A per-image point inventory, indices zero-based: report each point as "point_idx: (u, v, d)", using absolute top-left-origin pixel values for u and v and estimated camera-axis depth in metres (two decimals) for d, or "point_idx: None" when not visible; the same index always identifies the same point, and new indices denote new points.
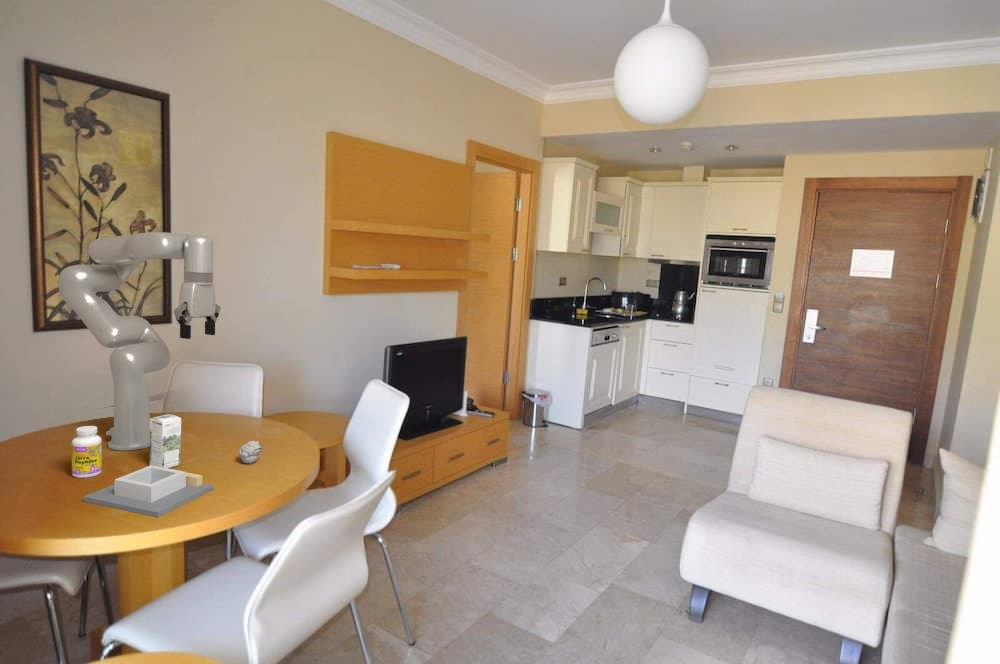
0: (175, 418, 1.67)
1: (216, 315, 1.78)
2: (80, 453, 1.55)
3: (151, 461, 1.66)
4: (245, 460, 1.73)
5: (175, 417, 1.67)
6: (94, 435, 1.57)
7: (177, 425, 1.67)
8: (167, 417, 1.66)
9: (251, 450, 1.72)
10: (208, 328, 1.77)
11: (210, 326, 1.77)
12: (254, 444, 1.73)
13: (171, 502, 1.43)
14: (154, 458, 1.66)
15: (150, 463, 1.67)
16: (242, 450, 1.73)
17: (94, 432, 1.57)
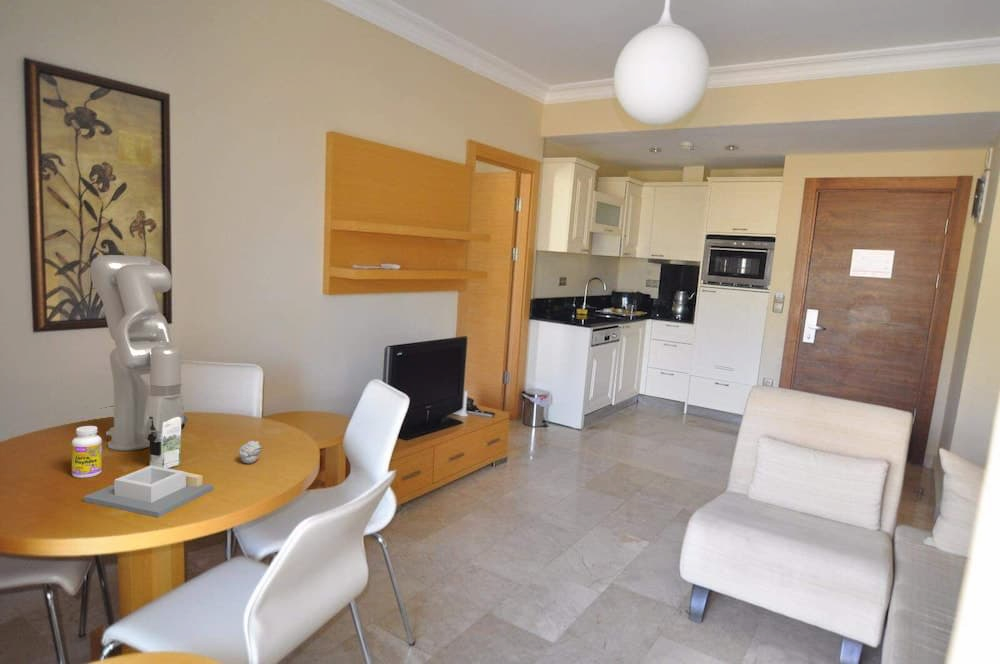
0: (175, 418, 1.67)
1: (181, 426, 1.72)
2: (80, 453, 1.55)
3: (151, 461, 1.66)
4: (245, 460, 1.73)
5: None
6: (94, 435, 1.57)
7: (177, 425, 1.67)
8: None
9: (251, 450, 1.72)
10: None
11: None
12: (254, 444, 1.73)
13: (171, 502, 1.43)
14: (154, 458, 1.66)
15: (150, 463, 1.67)
16: (242, 450, 1.73)
17: (94, 432, 1.57)
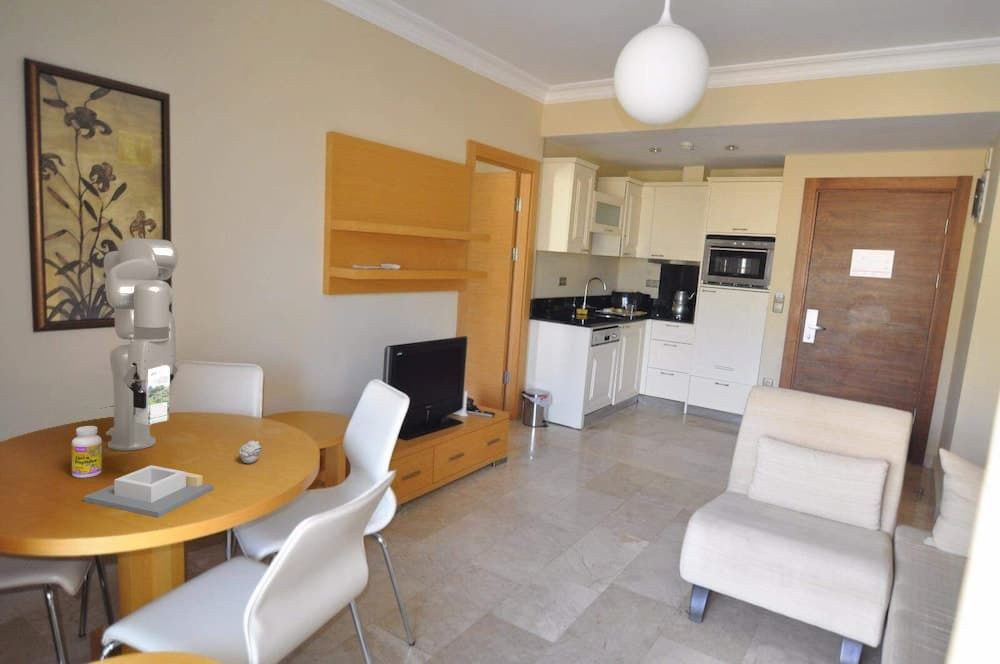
0: (163, 366, 1.46)
1: (170, 378, 1.51)
2: (80, 453, 1.55)
3: (135, 416, 1.45)
4: (245, 460, 1.73)
5: None
6: (94, 435, 1.57)
7: (165, 374, 1.46)
8: None
9: (251, 450, 1.72)
10: None
11: None
12: (254, 444, 1.73)
13: (171, 502, 1.43)
14: (138, 412, 1.44)
15: (134, 418, 1.45)
16: (242, 450, 1.73)
17: (94, 432, 1.57)
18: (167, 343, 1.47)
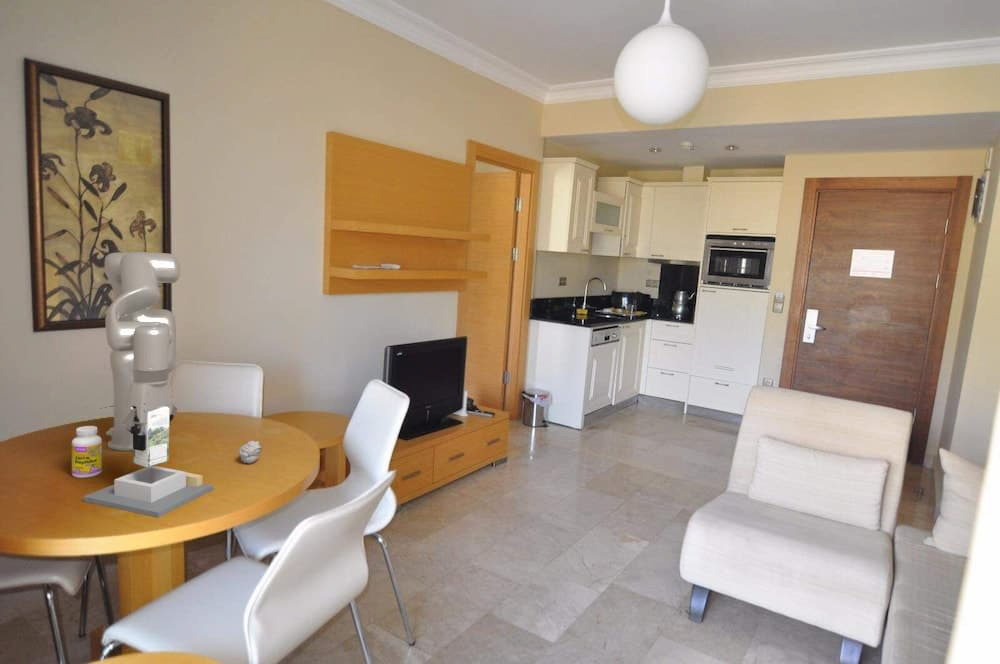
0: (162, 408, 1.47)
1: (170, 418, 1.52)
2: (80, 453, 1.55)
3: (135, 457, 1.46)
4: (245, 460, 1.73)
5: None
6: (94, 435, 1.57)
7: (165, 416, 1.47)
8: None
9: (251, 450, 1.72)
10: None
11: None
12: (254, 444, 1.73)
13: (171, 502, 1.43)
14: (138, 453, 1.45)
15: (134, 459, 1.46)
16: (242, 450, 1.73)
17: (94, 432, 1.57)
18: (167, 385, 1.47)
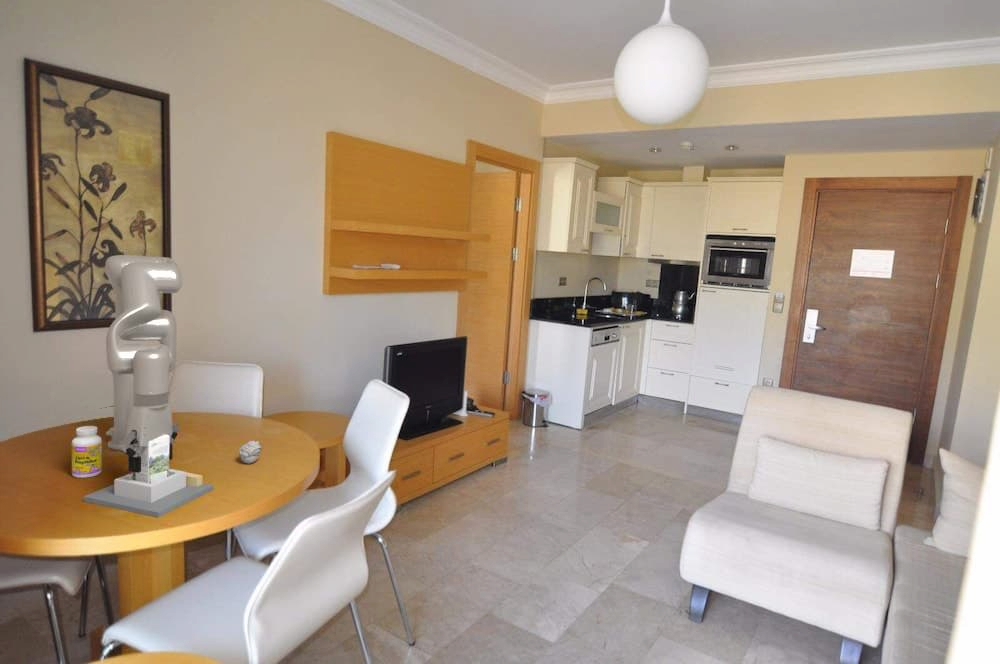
0: (163, 436, 1.48)
1: (174, 436, 1.53)
2: (80, 453, 1.55)
3: None
4: (245, 460, 1.73)
5: None
6: (94, 435, 1.57)
7: (165, 444, 1.48)
8: None
9: (251, 450, 1.72)
10: None
11: None
12: (254, 444, 1.73)
13: (171, 502, 1.43)
14: None
15: None
16: (242, 450, 1.73)
17: (94, 432, 1.57)
18: (166, 407, 1.48)
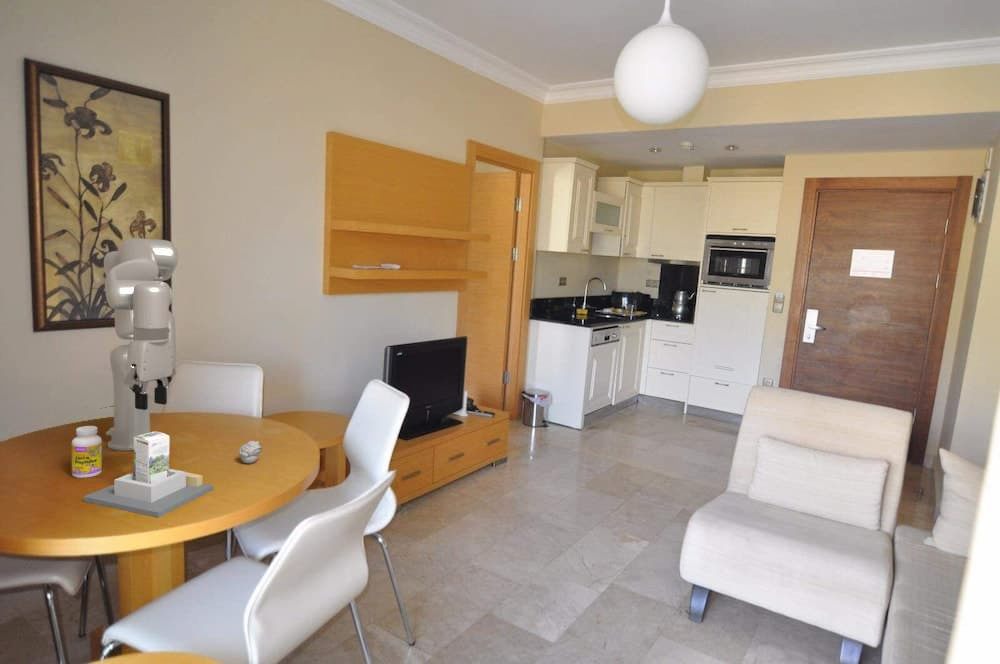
0: (163, 436, 1.48)
1: (168, 380, 1.50)
2: (80, 453, 1.55)
3: None
4: (245, 460, 1.73)
5: (163, 435, 1.48)
6: (94, 435, 1.57)
7: (165, 444, 1.48)
8: (153, 435, 1.47)
9: (251, 450, 1.72)
10: (158, 396, 1.48)
11: (161, 394, 1.48)
12: (254, 444, 1.73)
13: (171, 502, 1.43)
14: None
15: None
16: (242, 450, 1.73)
17: (94, 432, 1.57)
18: (167, 344, 1.46)
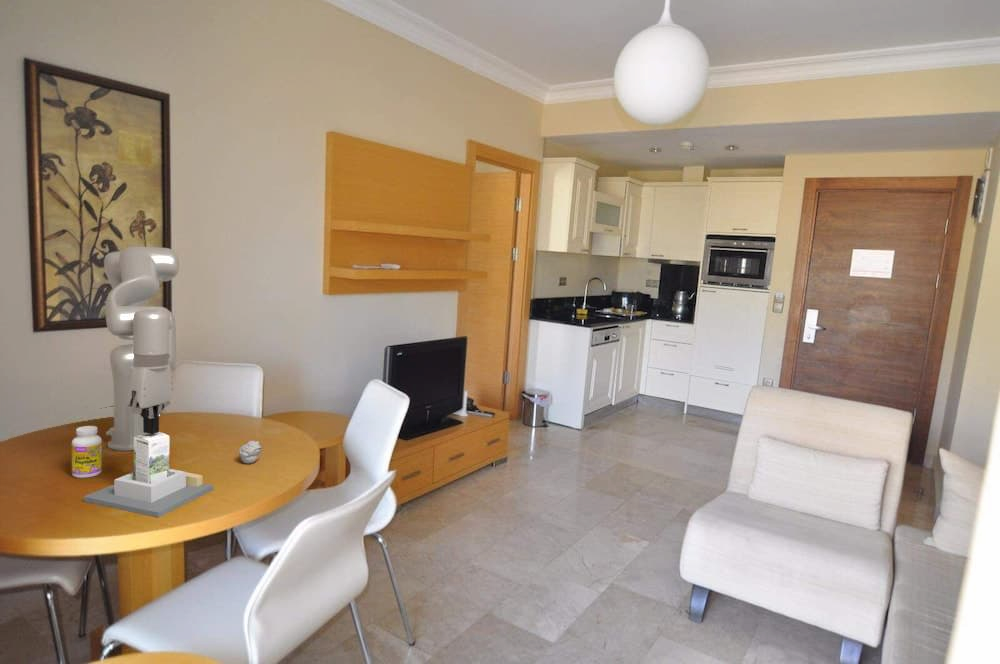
0: (163, 436, 1.48)
1: None
2: (80, 453, 1.55)
3: None
4: (245, 460, 1.73)
5: (163, 435, 1.48)
6: (94, 435, 1.57)
7: (165, 444, 1.48)
8: (153, 435, 1.47)
9: (251, 450, 1.72)
10: None
11: None
12: (254, 444, 1.73)
13: (171, 502, 1.43)
14: None
15: None
16: (242, 450, 1.73)
17: (94, 432, 1.57)
18: (167, 370, 1.47)
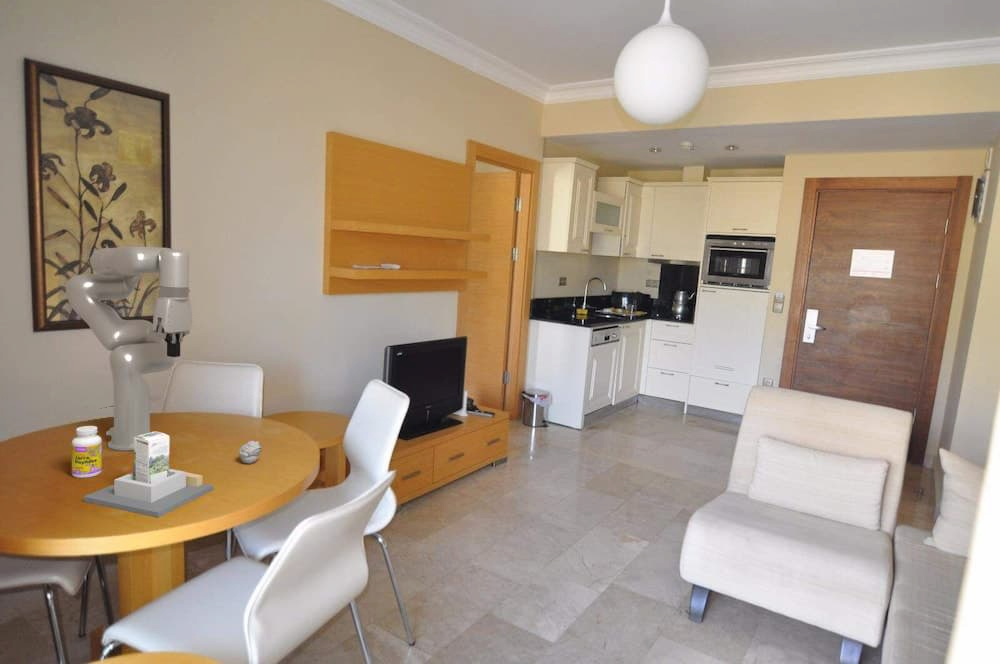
0: (163, 436, 1.48)
1: None
2: (80, 453, 1.55)
3: None
4: (245, 460, 1.73)
5: (163, 435, 1.48)
6: (94, 435, 1.57)
7: (165, 444, 1.48)
8: (153, 435, 1.47)
9: (251, 450, 1.72)
10: None
11: None
12: (254, 444, 1.73)
13: (171, 502, 1.43)
14: None
15: None
16: (242, 450, 1.73)
17: (94, 432, 1.57)
18: (187, 302, 1.70)
